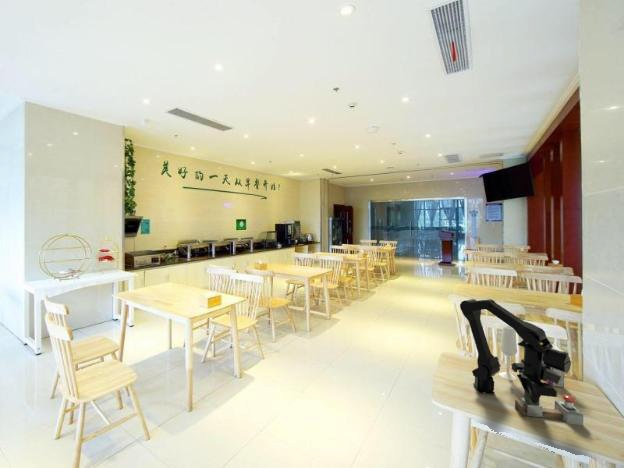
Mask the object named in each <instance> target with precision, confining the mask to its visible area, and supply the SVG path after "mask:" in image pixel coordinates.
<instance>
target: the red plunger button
mask: <svg viewBox="0 0 624 468" xmlns="http://www.w3.org/2000/svg"><path fill="white" fill-rule="evenodd" d="M562 400H563V402H564V408H565V409H566V410H572V411H573V406H574V404H575V403H576V402H577V401H576V400H577V399H576V397H574V396H573V395H570V394H566V393H563V394H562ZM574 407H575V406H574Z"/></svg>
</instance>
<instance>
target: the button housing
mask: <svg viewBox="0 0 624 468" xmlns="http://www.w3.org/2000/svg"><path fill="white" fill-rule="evenodd" d="M554 409H558V410H560V411H561V412H562V413H563V419H562V420H563V421H564V422H565V423H566V424H569V425H579V426H584V416H585V415H584V414H583V412H581V411H580V410H579V409H578V408H576V407H575V406H573V411H572V410H566V409H565V408H564V401H560V400H554Z"/></svg>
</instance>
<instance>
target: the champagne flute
mask: <svg viewBox="0 0 624 468" xmlns="http://www.w3.org/2000/svg"><path fill="white" fill-rule="evenodd" d="M501 331H502V332H501V338H500V345H499V350H500V351H501V353H503V354H504V356H506V364H505V365H506V367H505V371H504V372H500V373H499V372H498V374H499V377H501V378H502V379H505V380H508V381H509V380H510V381H515V380H517V378H516V376H514V375H513V374H512V373H510V363H511V362H510V361H511V360H510V358H511V357H513V356H515V355H516V354H517V353H518V347H517V346H518V343H517V332H516V331H515V330H514V329H513V328H512V327H510V326H509V325H508V324H505V325H503V326H502V330H501Z"/></svg>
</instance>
